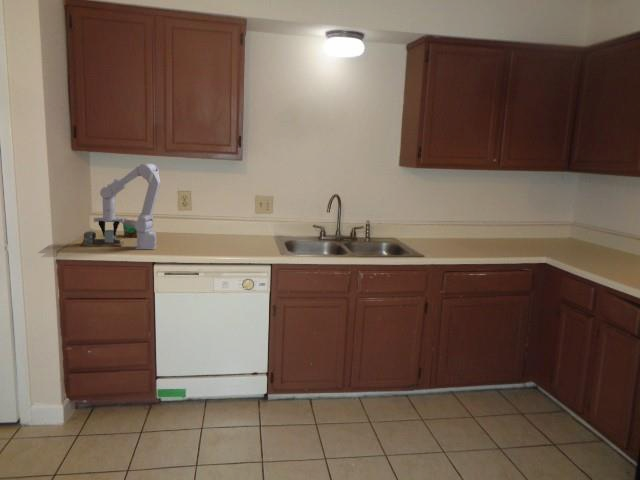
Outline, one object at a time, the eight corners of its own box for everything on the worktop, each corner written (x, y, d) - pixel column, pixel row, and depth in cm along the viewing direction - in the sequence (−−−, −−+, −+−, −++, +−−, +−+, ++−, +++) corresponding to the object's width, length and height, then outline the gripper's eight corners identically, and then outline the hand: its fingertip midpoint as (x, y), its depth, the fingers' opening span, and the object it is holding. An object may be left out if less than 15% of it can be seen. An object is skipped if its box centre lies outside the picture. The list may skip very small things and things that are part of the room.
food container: (117, 236, 282) (116, 219, 280) (125, 234, 287) (125, 217, 285) (132, 239, 276) (132, 221, 274) (140, 237, 281) (140, 220, 279)
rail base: (123, 243, 264) (123, 231, 263) (120, 246, 257) (120, 234, 255) (83, 243, 260) (83, 231, 259) (79, 246, 252) (79, 233, 251)
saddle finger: (115, 239, 262) (115, 229, 261) (112, 242, 256) (112, 232, 255) (106, 239, 261) (106, 229, 260) (103, 242, 255) (103, 232, 254)
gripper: (124, 209, 261) (125, 234, 263) (95, 208, 258) (96, 233, 260) (122, 211, 254) (123, 236, 257) (92, 210, 251) (93, 236, 254)
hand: (109, 235), depth 258 cm, fingers closed on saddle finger, 4 cm apart
